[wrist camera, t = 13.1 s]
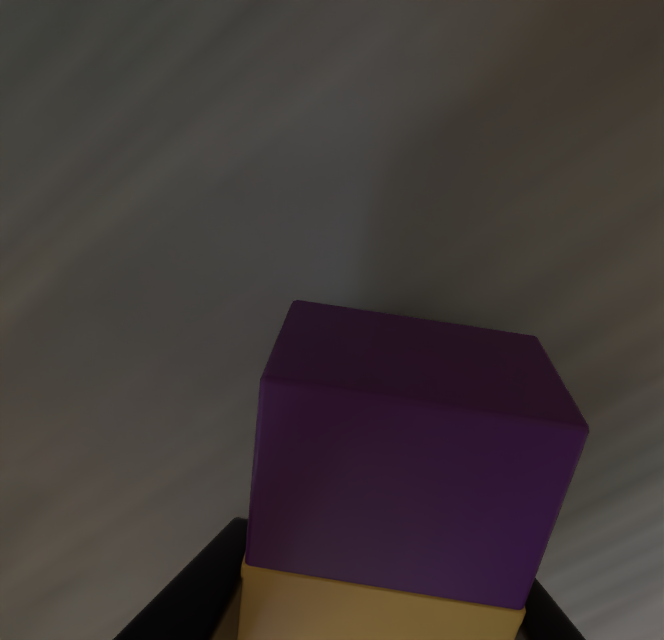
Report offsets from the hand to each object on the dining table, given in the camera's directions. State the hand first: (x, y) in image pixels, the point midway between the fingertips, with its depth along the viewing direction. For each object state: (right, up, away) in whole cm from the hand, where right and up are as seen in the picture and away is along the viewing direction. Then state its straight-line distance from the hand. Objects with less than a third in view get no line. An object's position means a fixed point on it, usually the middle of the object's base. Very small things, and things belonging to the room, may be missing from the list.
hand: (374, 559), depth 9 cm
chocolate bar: (0, 0, +1) cm, 1 cm away
